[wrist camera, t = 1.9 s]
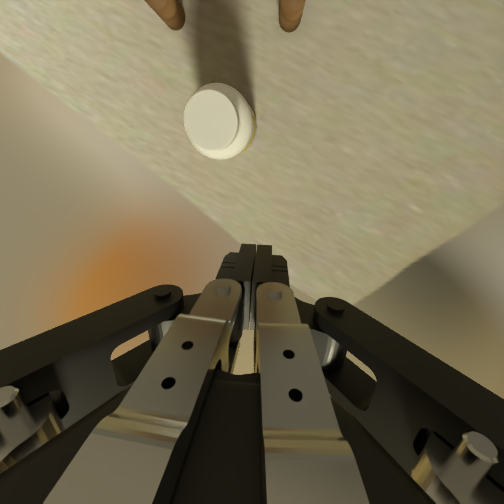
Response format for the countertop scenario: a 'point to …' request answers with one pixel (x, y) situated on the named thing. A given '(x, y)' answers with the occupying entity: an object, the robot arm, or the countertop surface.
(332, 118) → the countertop surface
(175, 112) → the countertop surface
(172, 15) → the dowel gate
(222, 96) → the supplement bottle
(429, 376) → the robot arm
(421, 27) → the countertop surface
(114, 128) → the countertop surface
